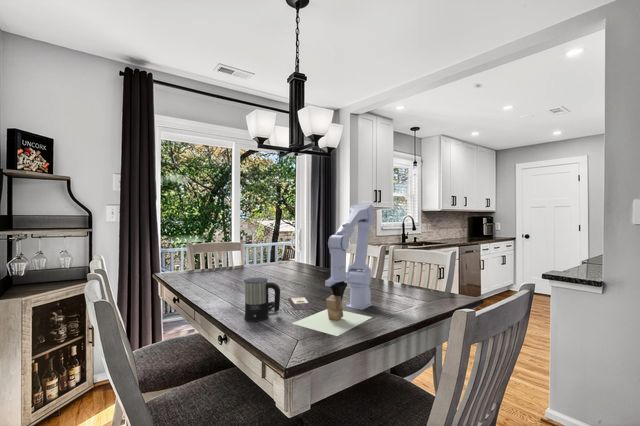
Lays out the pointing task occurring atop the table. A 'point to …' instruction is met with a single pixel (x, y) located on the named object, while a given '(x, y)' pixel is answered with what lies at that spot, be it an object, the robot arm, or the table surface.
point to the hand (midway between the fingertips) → (338, 301)
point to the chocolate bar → (301, 303)
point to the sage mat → (332, 322)
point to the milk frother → (259, 298)
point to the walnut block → (334, 307)
